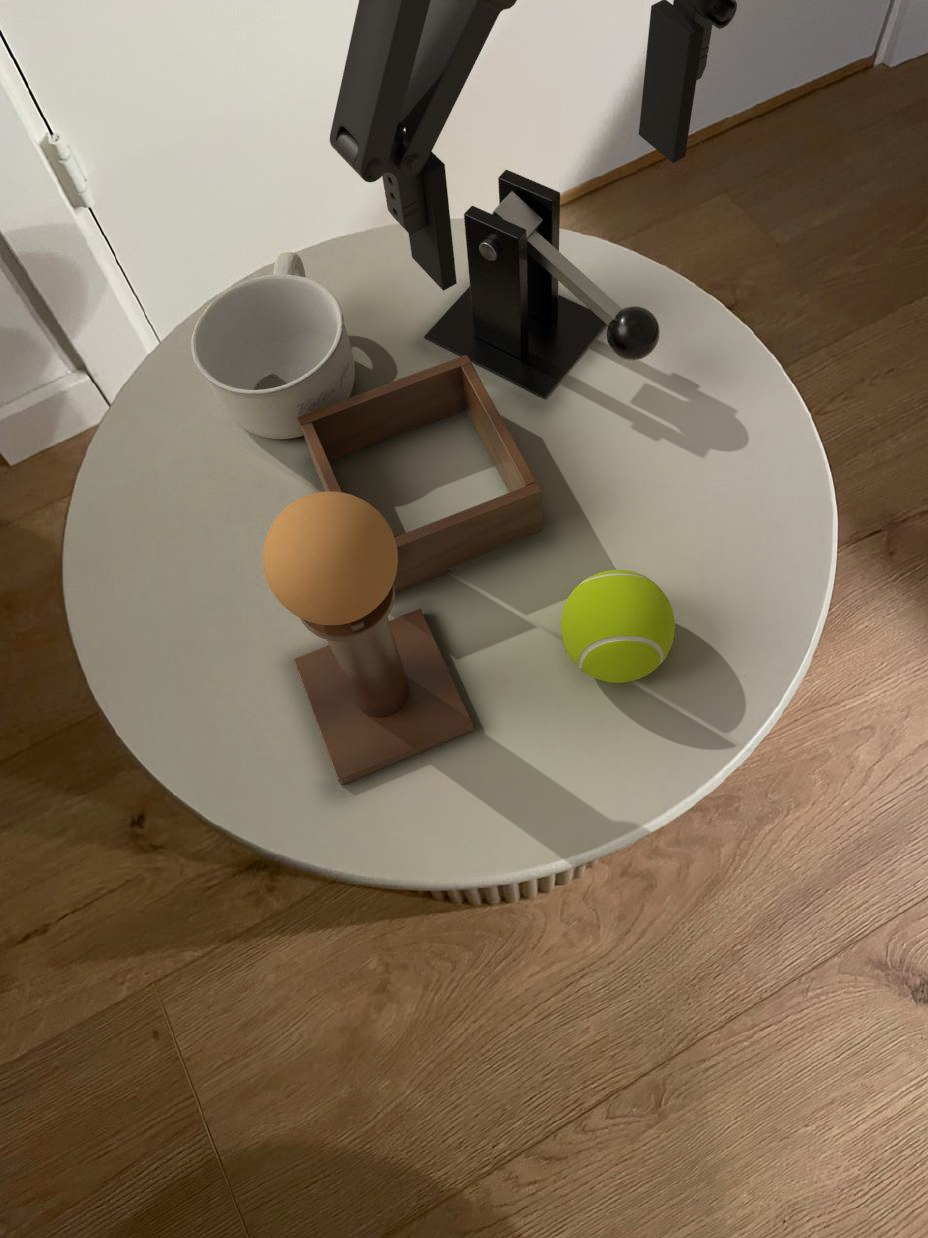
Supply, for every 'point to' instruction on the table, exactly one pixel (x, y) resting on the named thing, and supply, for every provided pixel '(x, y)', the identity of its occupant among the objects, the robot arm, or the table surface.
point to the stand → (380, 691)
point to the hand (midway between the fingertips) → (551, 206)
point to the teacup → (275, 349)
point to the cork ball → (330, 558)
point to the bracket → (515, 298)
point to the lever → (585, 287)
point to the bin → (411, 409)
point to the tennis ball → (617, 626)
